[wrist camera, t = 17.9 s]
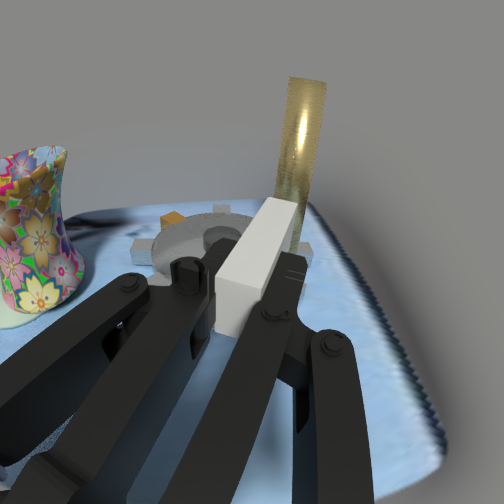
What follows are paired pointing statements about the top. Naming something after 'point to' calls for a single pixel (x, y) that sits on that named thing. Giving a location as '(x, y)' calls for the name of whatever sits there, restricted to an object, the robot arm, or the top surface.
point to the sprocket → (221, 220)
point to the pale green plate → (13, 315)
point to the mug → (35, 232)
